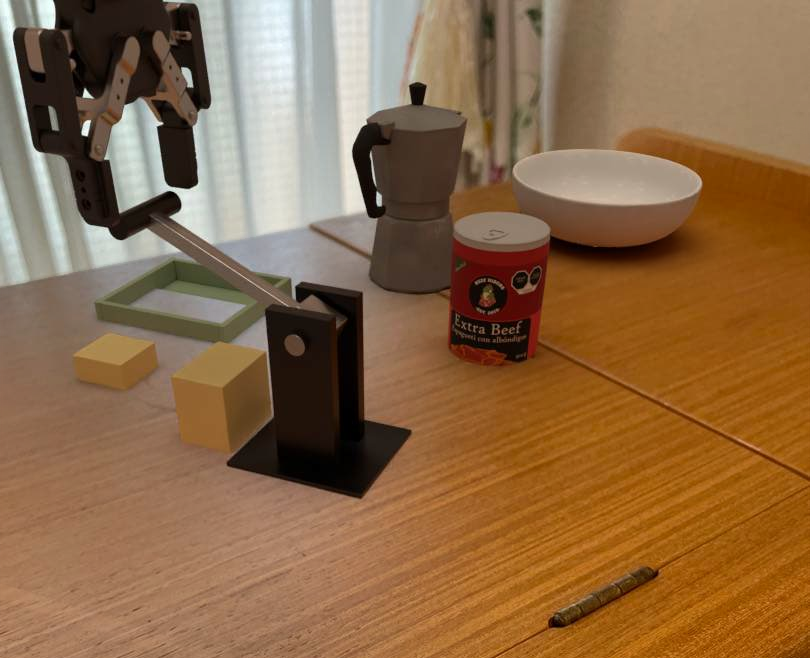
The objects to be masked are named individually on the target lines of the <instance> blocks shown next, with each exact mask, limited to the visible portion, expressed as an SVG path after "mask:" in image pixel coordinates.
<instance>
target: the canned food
mask: <svg viewBox="0 0 810 658" xmlns="http://www.w3.org/2000/svg"><path fill="white" fill-rule="evenodd" d="M453 230H454V232H453V245H452V262H451V283H450V286H449V305H448V306H449V308H448V328H447V329H448V331H447V347H448V350H449V351H450V353H451V354H452V355H453V356H455V357H457V358H458V359H460V360H462V361H465V362H467V363H471V364H475V365H481V366H488V367H489V366H490V367H499V366H501V367H503V366H511V365H515V364H520V363H521V362H526V361H527V360H528V359H533V358H534V357H535V355H536V352H537V350H538V342H539V334H540V326H541V319H542V310H543V303H544V296H545V295H544V294H545V286H546V279H547V270H548V262H549V254H550V243H551V235H550V227H549V226H548V224H546V223H545V222H544V221H542V220H540V219H538V218H535V217H532V216H529V215H525V214H523V213H519V212H511V211H485V212H479V213H472V214H470V215H469V214H468V215H467V216H464V217H461V218H460V219H458V220H457V221H456V222H455V223H454V225H453Z"/></svg>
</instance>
